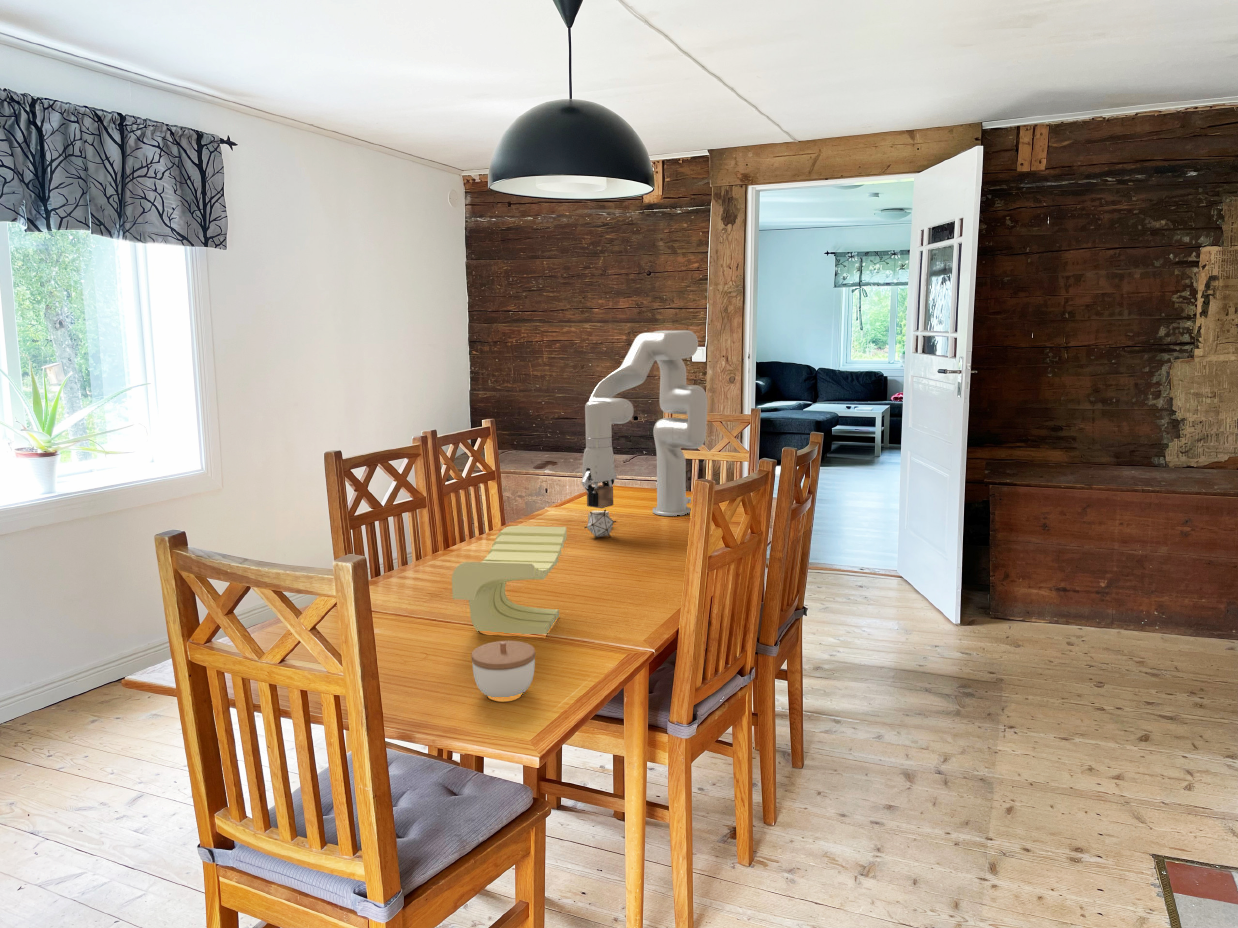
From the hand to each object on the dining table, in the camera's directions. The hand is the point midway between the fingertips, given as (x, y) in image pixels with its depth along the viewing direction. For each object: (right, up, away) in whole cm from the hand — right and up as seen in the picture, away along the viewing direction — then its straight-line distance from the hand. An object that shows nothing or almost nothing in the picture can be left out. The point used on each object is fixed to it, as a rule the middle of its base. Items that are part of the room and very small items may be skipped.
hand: (600, 503), depth 254 cm
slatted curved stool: (-16, -22, -72) cm, 77 cm away
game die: (0, -10, +2) cm, 10 cm away
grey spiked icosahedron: (-1, -8, +13) cm, 16 cm away
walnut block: (0, -1, 0) cm, 1 cm away
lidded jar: (-14, -28, -106) cm, 111 cm away
